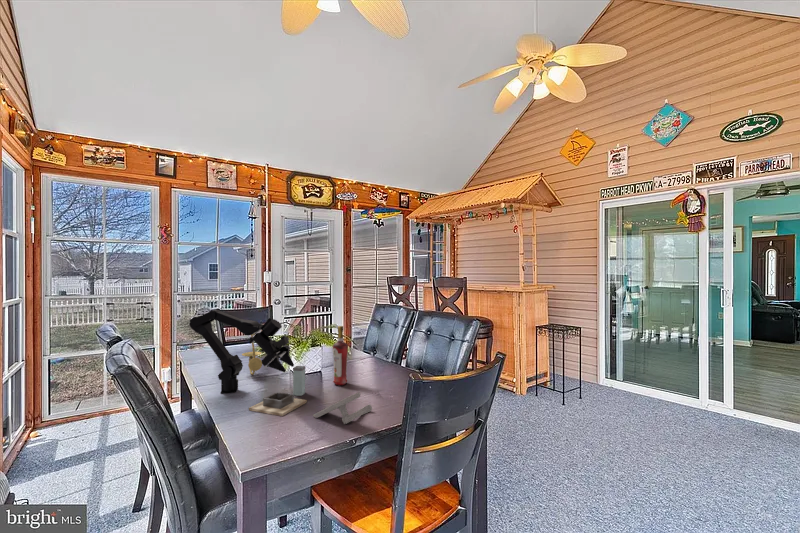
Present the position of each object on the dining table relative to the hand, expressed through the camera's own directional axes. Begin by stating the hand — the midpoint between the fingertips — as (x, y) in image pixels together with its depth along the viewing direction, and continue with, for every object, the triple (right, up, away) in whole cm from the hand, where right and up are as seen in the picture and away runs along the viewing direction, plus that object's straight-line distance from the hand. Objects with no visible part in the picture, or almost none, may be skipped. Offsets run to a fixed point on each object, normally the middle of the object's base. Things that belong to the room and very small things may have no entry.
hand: (289, 368), depth 174 cm
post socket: (0, -11, -16) cm, 19 cm away
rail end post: (+4, -11, 0) cm, 12 cm away
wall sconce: (-28, -11, +30) cm, 42 cm away
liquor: (+21, -11, +14) cm, 28 cm away
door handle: (+29, -12, -25) cm, 40 cm away
